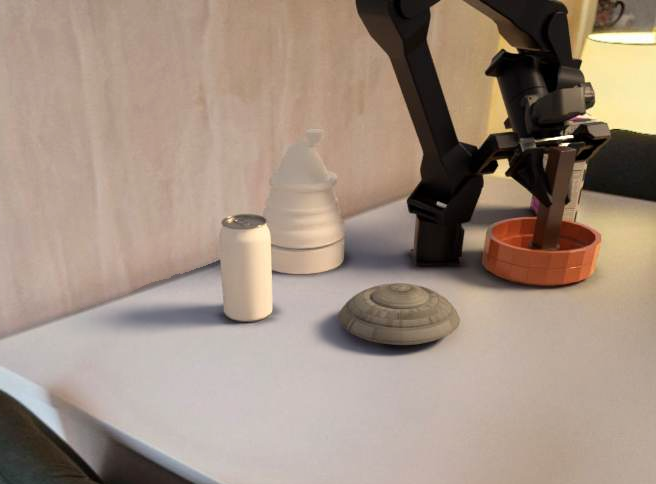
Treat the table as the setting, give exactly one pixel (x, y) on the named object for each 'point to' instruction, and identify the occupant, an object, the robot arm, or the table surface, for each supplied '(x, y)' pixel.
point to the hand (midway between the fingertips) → (558, 204)
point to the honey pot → (304, 212)
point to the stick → (559, 183)
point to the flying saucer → (399, 315)
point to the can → (246, 267)
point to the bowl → (540, 253)
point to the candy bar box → (578, 173)
